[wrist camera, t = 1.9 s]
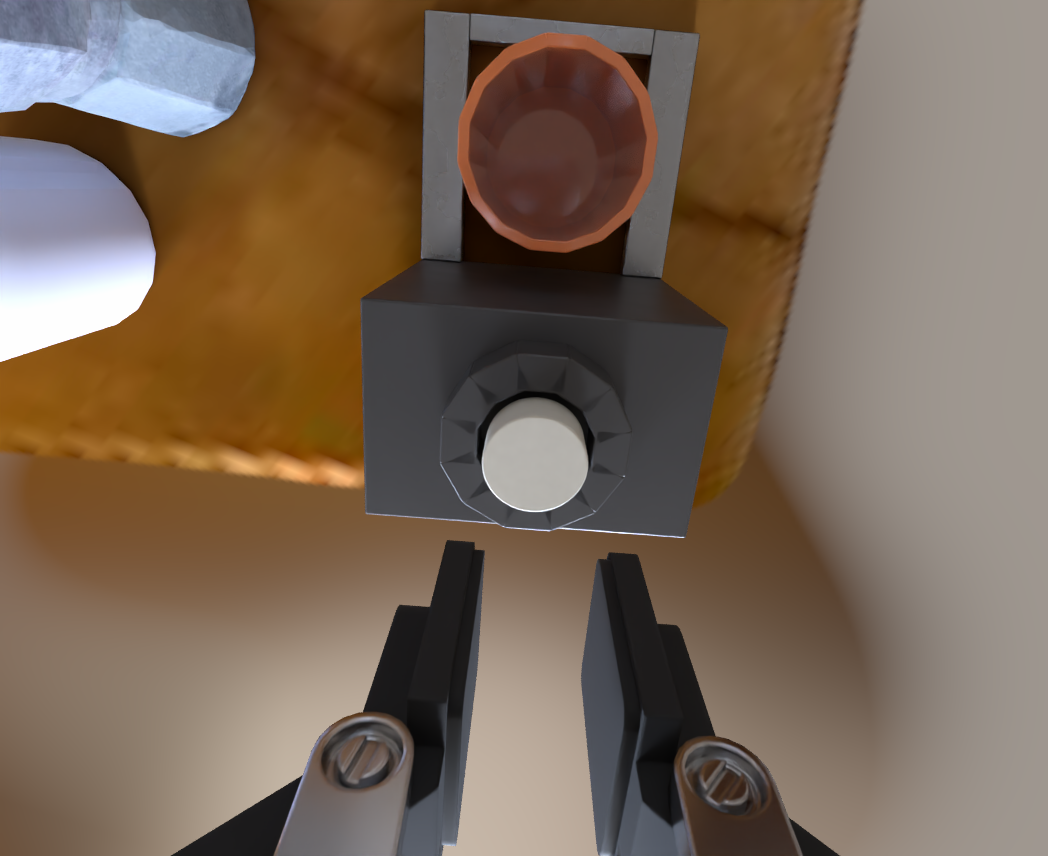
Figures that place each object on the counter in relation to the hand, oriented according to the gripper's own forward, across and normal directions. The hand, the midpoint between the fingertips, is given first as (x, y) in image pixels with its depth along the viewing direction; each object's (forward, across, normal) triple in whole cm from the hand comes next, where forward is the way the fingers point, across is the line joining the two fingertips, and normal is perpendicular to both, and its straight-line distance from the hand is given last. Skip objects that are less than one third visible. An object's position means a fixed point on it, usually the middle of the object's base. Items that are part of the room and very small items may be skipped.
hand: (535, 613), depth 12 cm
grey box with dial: (+22, 0, 0) cm, 22 cm away
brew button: (+9, 0, 0) cm, 9 cm away
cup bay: (+22, 0, -9) cm, 24 cm away
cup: (+22, 0, -9) cm, 24 cm away
